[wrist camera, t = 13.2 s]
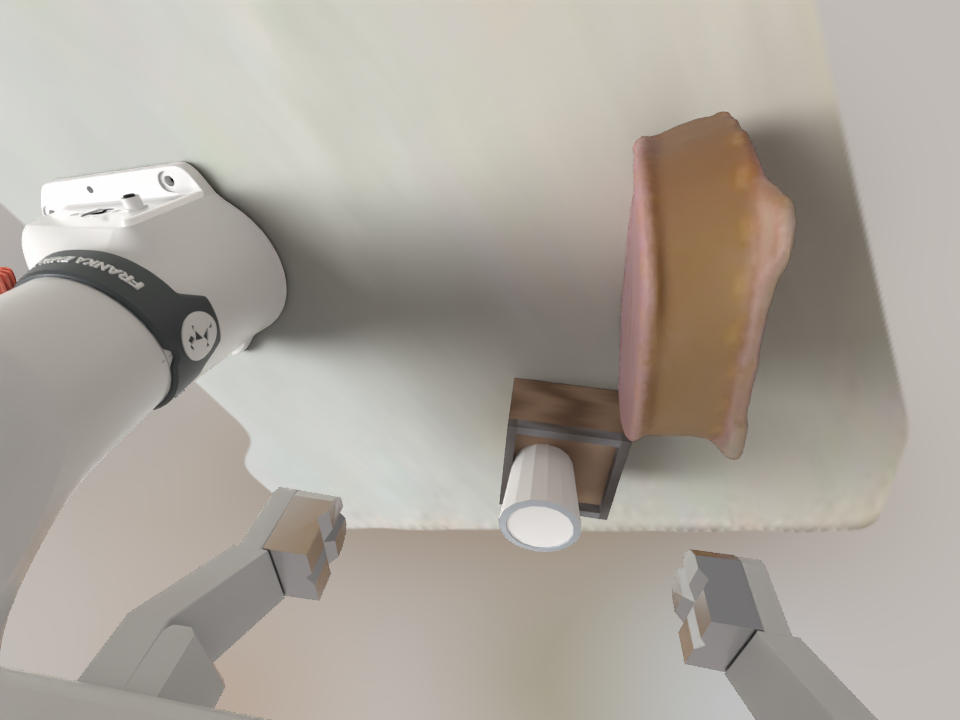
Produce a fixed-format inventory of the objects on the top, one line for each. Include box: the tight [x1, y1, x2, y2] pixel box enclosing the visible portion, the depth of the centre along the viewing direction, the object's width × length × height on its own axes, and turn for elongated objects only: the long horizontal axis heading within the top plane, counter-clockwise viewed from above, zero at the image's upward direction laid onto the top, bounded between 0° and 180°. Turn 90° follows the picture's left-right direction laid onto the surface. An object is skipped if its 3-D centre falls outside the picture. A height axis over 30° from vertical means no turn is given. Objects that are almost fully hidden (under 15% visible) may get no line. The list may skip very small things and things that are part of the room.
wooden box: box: [500, 378, 631, 520], centre depth 47 cm, size 11×11×7 cm
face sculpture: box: [618, 112, 796, 460], centre depth 31 cm, size 20×7×17 cm, turn 9°
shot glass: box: [499, 444, 581, 552], centre depth 42 cm, size 7×7×7 cm
